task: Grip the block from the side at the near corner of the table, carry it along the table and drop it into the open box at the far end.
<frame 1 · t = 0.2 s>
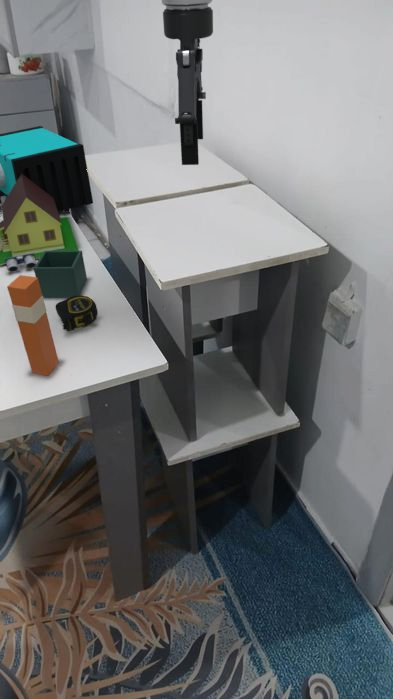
hand: (193, 151, 94), 25 cm above the table, tool pointing down, fingers open, 13 cm apart
open box: (64, 288, 107), on the table
electronic device: (28, 204, 141), on the table, touching house model
tape measure: (76, 324, 97), on the table
ultrasonic sensor: (23, 268, 115), on the table
block: (45, 368, 87), on the table
house model: (33, 240, 124), on the table, touching electronic device
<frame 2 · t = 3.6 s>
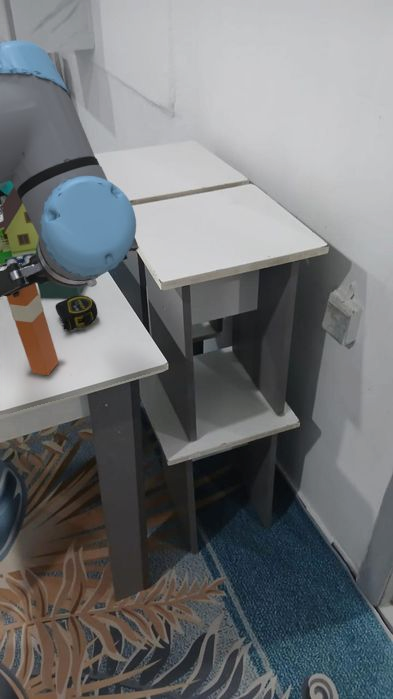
hand: (59, 271, 77), 17 cm above the table, tool tilted 55°, fingers open, 13 cm apart
nothing on the table moved.
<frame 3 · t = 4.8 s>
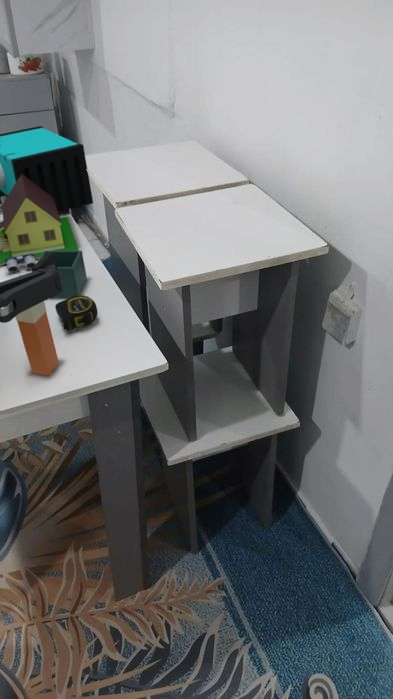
hand: (2, 265, 71), 21 cm above the table, tool horizontal, fingers open, 13 cm apart
nothing on the table moved.
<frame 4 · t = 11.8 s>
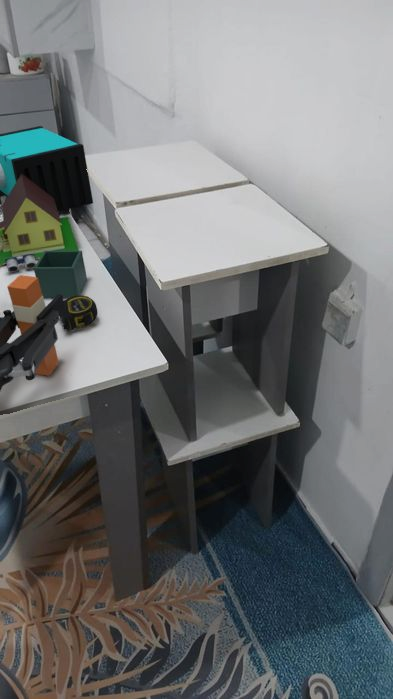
hand: (50, 300, 86), 9 cm above the table, tool horizontal, fingers closed on block, 3 cm apart
block: (45, 368, 87), on the table, touching gripper
everything else where it was.
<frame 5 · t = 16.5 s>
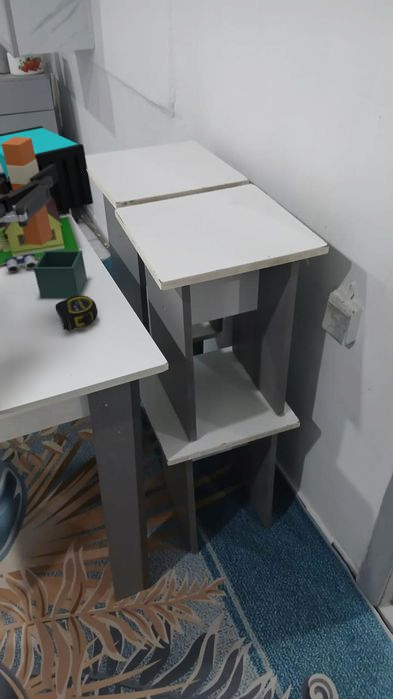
hand: (44, 171, 87), 25 cm above the table, tool horizontal, fingers closed on block, 3 cm apart
block: (39, 240, 89), point 15 cm above the table, touching gripper
everything else where it was.
when the fingers open (13 cm above the table, at t = 21.4 s): block drops 4 cm, resting on open box.
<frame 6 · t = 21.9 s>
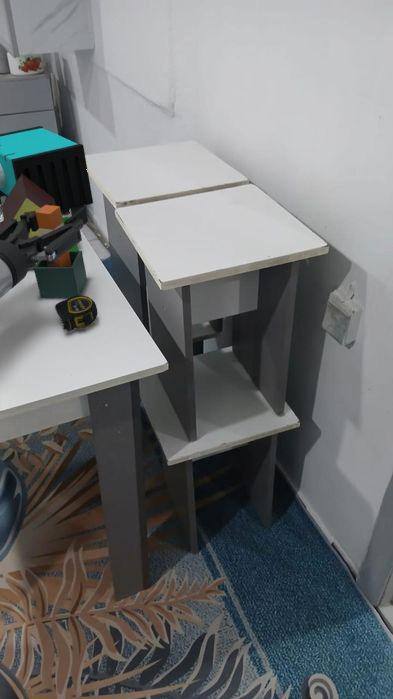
hand: (67, 212, 102), 14 cm above the table, tool horizontal, fingers open, 7 cm apart
block: (64, 286, 107), resting on open box
everything else where it was.
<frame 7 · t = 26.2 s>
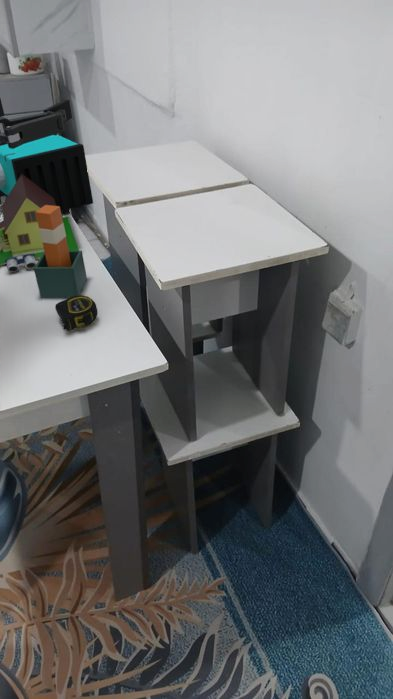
hand: (34, 107, 88), 33 cm above the table, tool horizontal, fingers open, 12 cm apart
nothing on the table moved.
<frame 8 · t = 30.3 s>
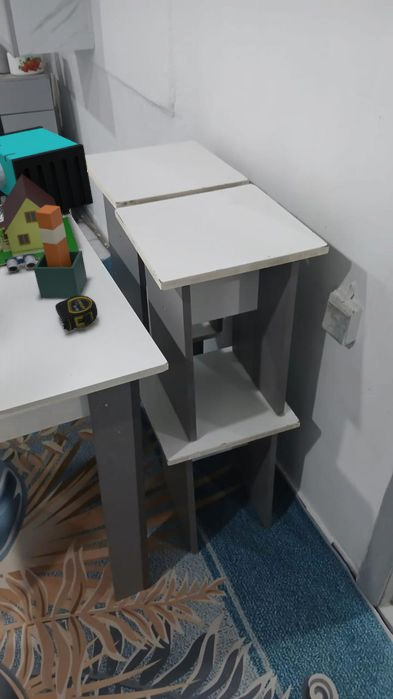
nothing on the table moved.
at the end: block 0.0 cm off-centre in the open box, point 0.5 cm above the open box's base; the gripper is holding nothing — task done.
